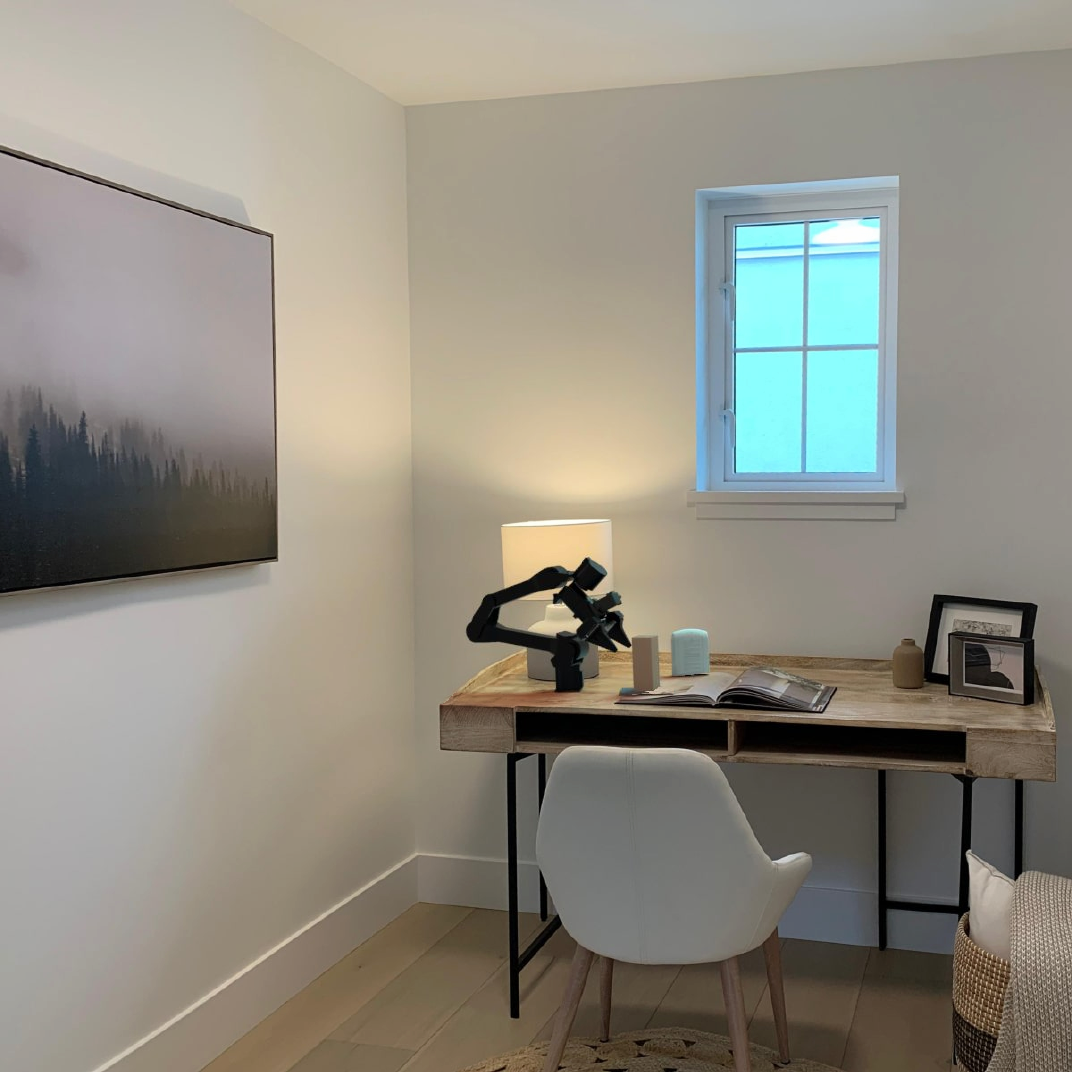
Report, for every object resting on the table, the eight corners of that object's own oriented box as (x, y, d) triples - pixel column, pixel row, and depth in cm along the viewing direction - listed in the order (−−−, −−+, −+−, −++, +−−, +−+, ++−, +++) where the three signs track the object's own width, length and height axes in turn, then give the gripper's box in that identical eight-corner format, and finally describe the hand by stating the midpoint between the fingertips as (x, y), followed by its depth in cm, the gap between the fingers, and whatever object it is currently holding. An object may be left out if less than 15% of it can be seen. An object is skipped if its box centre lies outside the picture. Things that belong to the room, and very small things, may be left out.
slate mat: (619, 695, 288) (619, 693, 288) (622, 689, 297) (622, 687, 297) (673, 694, 286) (673, 692, 286) (674, 688, 295) (674, 686, 295)
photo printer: (707, 673, 320) (705, 627, 320) (712, 675, 316) (710, 628, 316) (670, 675, 319) (668, 629, 319) (674, 677, 315) (672, 630, 314)
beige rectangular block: (633, 691, 290) (631, 637, 290) (641, 687, 295) (638, 635, 294) (653, 691, 288) (651, 637, 288) (660, 688, 292) (658, 635, 292)
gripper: (586, 584, 287) (630, 630, 282) (614, 578, 304) (657, 622, 299) (557, 616, 291) (601, 662, 286) (587, 609, 307) (629, 653, 303)
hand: (623, 649), depth 293 cm, fingers open, 9 cm apart
